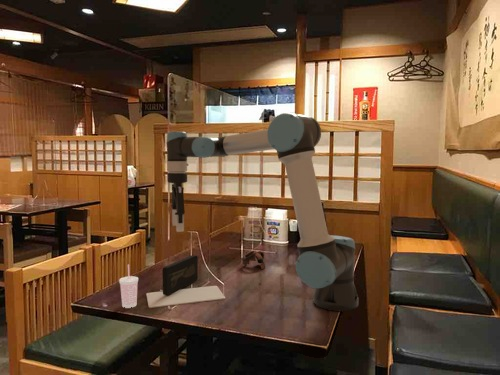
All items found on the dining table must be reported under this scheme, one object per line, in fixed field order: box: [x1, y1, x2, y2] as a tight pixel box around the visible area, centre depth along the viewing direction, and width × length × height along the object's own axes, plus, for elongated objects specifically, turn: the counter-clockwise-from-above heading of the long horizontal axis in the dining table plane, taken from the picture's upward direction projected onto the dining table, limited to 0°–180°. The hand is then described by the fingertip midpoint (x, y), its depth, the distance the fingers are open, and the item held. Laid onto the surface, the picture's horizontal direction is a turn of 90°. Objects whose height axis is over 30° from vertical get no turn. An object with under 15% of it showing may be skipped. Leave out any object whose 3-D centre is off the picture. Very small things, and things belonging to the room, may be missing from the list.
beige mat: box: [145, 285, 226, 309], centre depth 140 cm, size 13×26×1 cm, turn 108°
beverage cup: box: [118, 264, 139, 309], centre depth 132 cm, size 6×6×14 cm
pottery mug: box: [241, 250, 266, 270], centre depth 176 cm, size 12×10×8 cm
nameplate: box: [161, 254, 199, 295], centre depth 148 cm, size 21×2×10 cm, turn 157°
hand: (177, 228), depth 154 cm, fingers open, 11 cm apart
